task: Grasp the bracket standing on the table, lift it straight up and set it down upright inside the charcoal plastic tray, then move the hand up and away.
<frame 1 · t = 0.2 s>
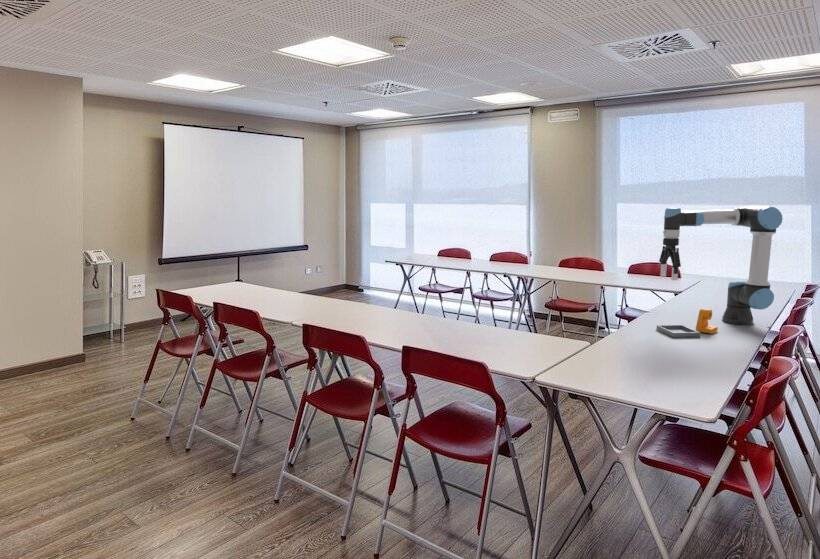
hand: (668, 278, 298), 27 cm above the table, tool pointing down, fingers open, 13 cm apart
tray: (677, 333, 293), on the table
bracket: (706, 332, 296), on the table
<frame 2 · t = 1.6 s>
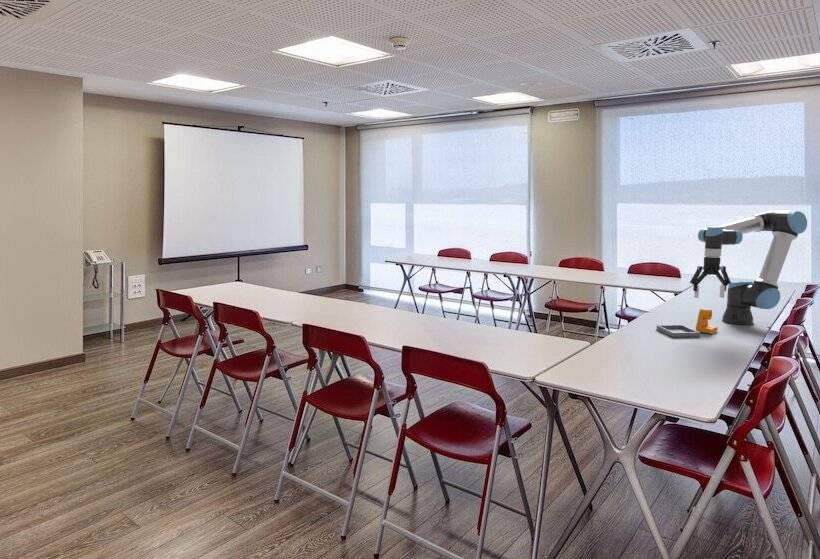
hand: (709, 297, 293), 18 cm above the table, tool pointing down, fingers open, 13 cm apart
nothing on the table moved.
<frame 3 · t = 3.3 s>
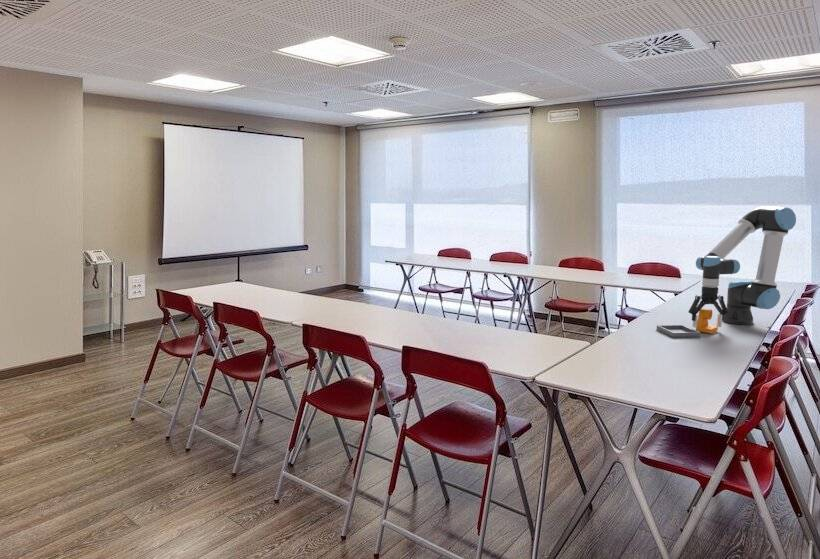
hand: (707, 326, 296), 3 cm above the table, tool pointing down, fingers closed on bracket, 12 cm apart
bracket: (706, 332, 296), on the table, touching gripper
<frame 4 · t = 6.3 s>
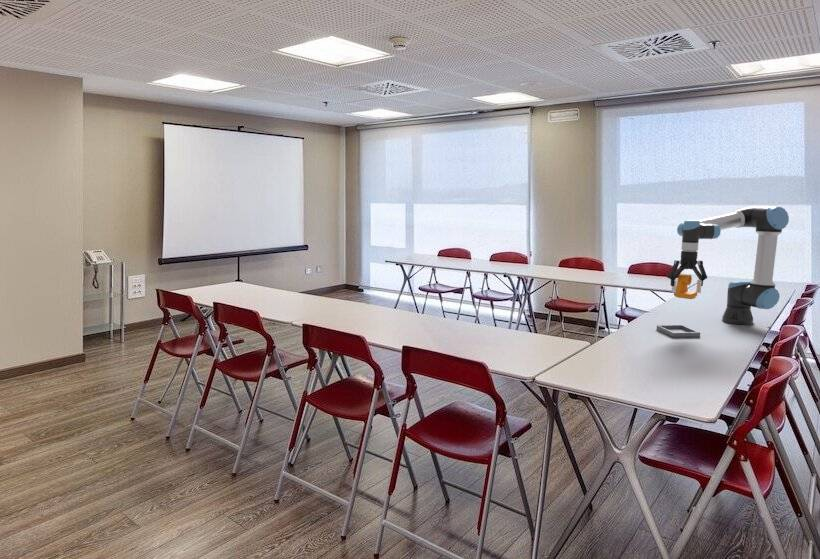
hand: (686, 292, 290), 21 cm above the table, tool pointing down, fingers closed on bracket, 12 cm apart
bracket: (686, 298, 291), point 18 cm above the table, touching gripper
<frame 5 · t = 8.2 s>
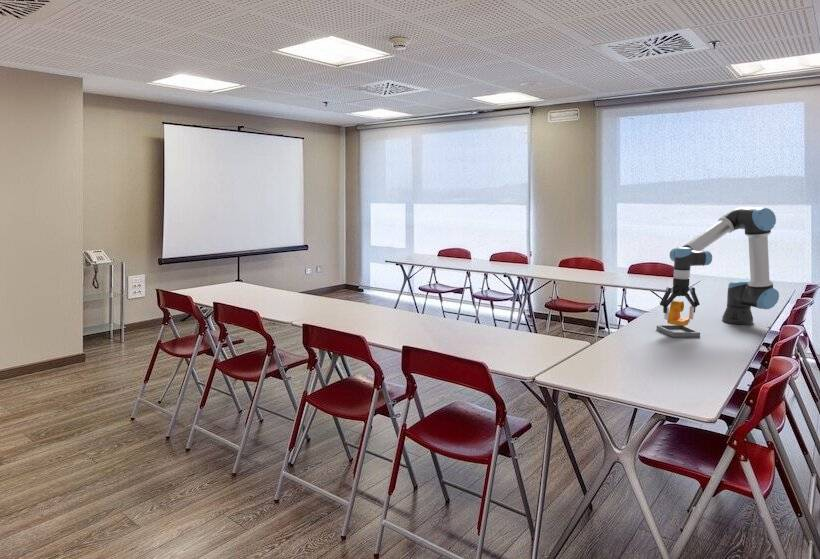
hand: (678, 319, 292), 8 cm above the table, tool pointing down, fingers closed on bracket, 12 cm apart
bracket: (678, 324, 292), point 5 cm above the table, touching gripper
when the fingers open (5 cm above the table, at t = 9.5 s): bracket stays where it is, resting on tray.
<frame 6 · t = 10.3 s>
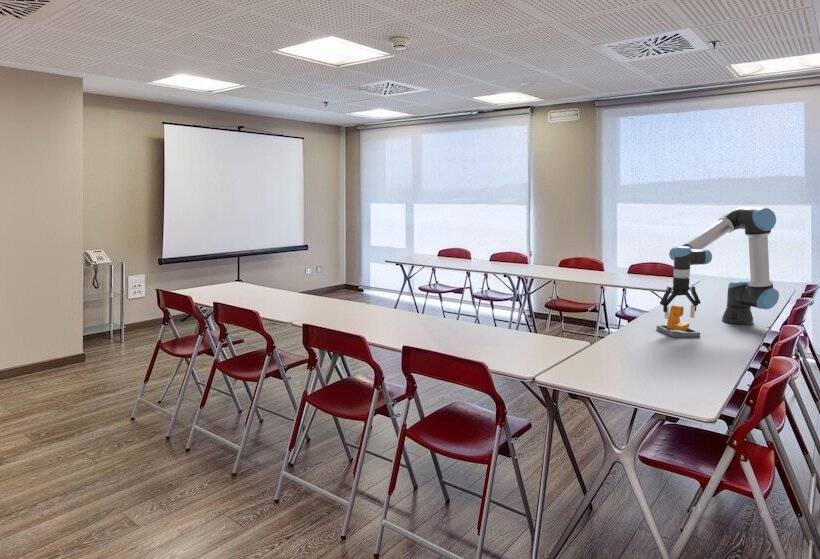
hand: (679, 318, 292), 8 cm above the table, tool pointing down, fingers open, 13 cm apart
bracket: (678, 329, 292), point 2 cm above the table, touching tray
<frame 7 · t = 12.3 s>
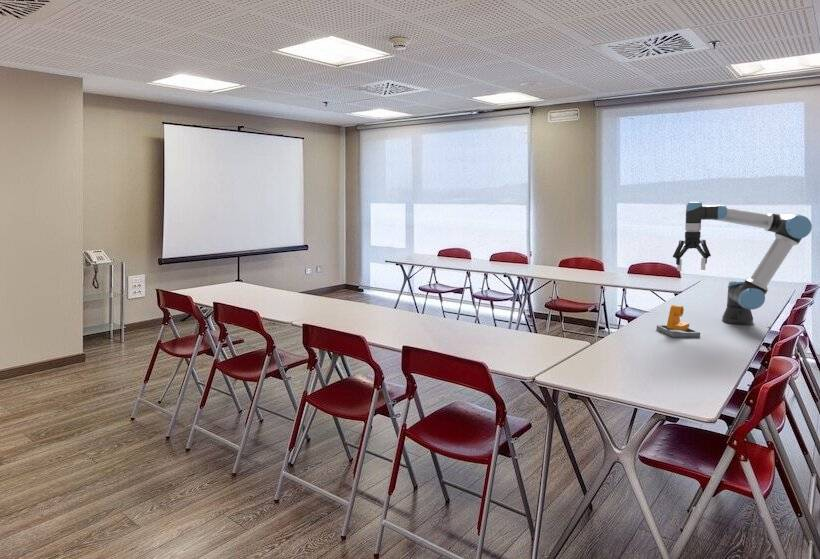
hand: (691, 270, 307), 30 cm above the table, tool pointing down, fingers open, 13 cm apart
nothing on the table moved.
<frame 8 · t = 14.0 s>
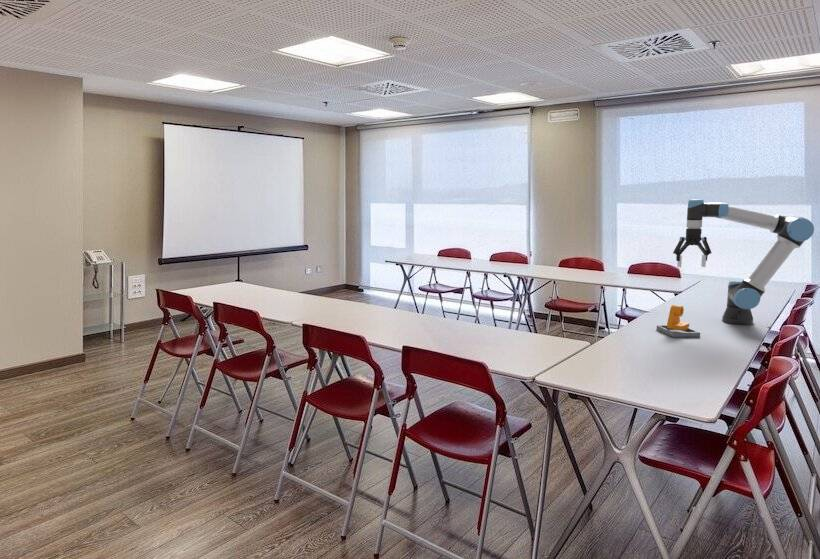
hand: (691, 266, 310), 32 cm above the table, tool pointing down, fingers open, 13 cm apart
nothing on the table moved.
at the end: bracket inside the target area on the tray (0.2 cm from its centre), point 2.3 cm above the tray's base; bracket tilted 0°; the gripper is holding nothing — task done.
